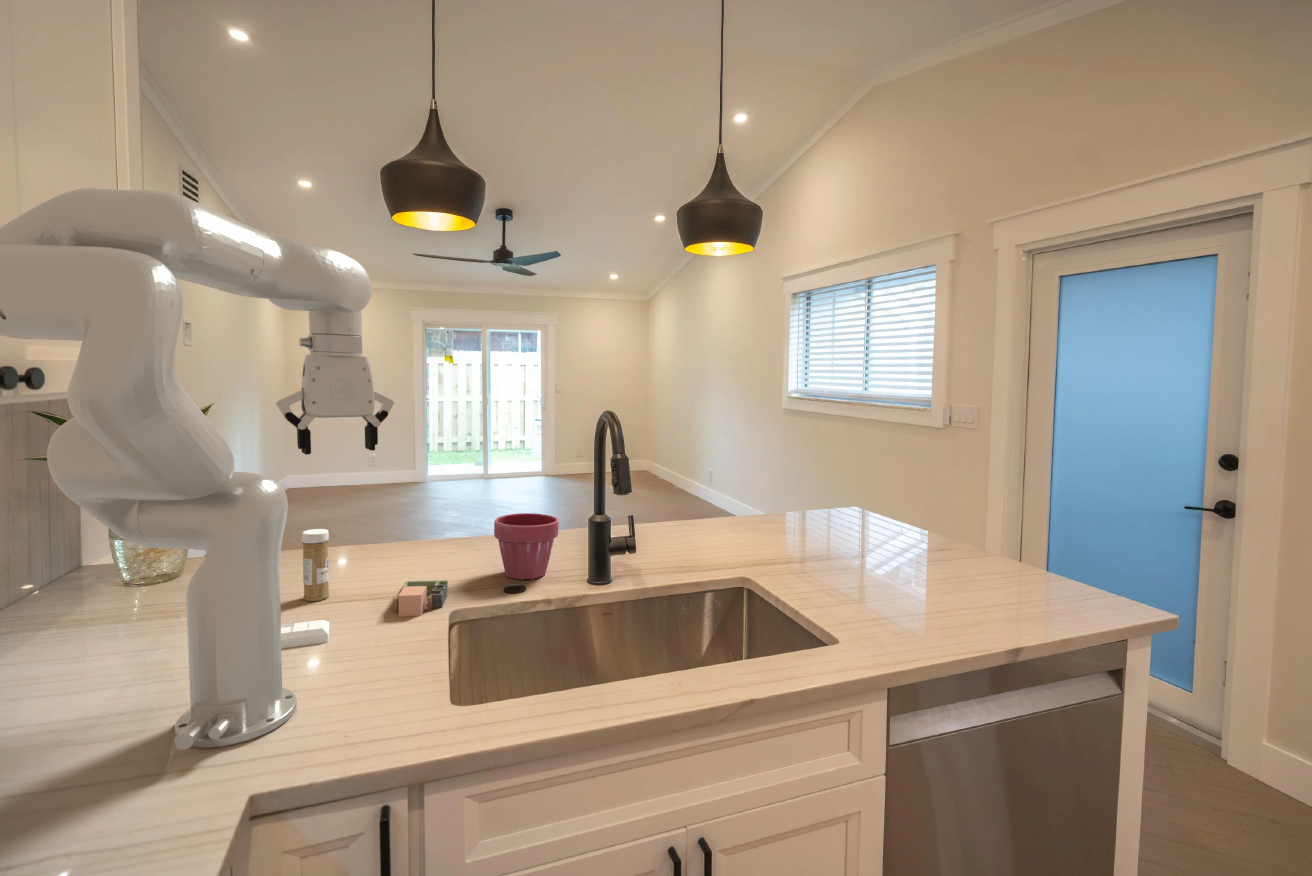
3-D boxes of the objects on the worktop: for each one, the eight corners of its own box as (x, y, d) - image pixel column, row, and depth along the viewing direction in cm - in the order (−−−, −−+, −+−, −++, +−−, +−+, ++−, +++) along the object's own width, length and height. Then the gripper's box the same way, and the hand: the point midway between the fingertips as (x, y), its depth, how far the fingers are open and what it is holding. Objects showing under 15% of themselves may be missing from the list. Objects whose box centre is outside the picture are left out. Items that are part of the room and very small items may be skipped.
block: (421, 616, 111) (421, 595, 111) (398, 616, 110) (398, 595, 110) (426, 606, 116) (426, 586, 116) (404, 606, 115) (404, 586, 115)
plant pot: (543, 561, 147) (544, 510, 146) (567, 578, 135) (568, 522, 134) (485, 569, 139) (485, 515, 138) (505, 588, 127) (506, 528, 126)
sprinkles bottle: (330, 599, 117) (329, 532, 116) (303, 603, 115) (302, 534, 114) (328, 592, 121) (327, 527, 120) (302, 596, 119) (301, 529, 117)
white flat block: (328, 644, 99) (327, 628, 99) (263, 653, 95) (263, 637, 95) (329, 632, 103) (329, 617, 103) (267, 640, 99) (267, 625, 99)
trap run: (440, 610, 114) (440, 597, 113) (393, 612, 112) (393, 599, 112) (449, 591, 124) (449, 580, 124) (406, 593, 122) (406, 581, 122)
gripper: (279, 344, 89) (283, 458, 91) (399, 349, 100) (401, 450, 102) (269, 344, 94) (273, 452, 96) (384, 349, 106) (386, 445, 108)
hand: (339, 451), depth 99 cm, fingers open, 9 cm apart
